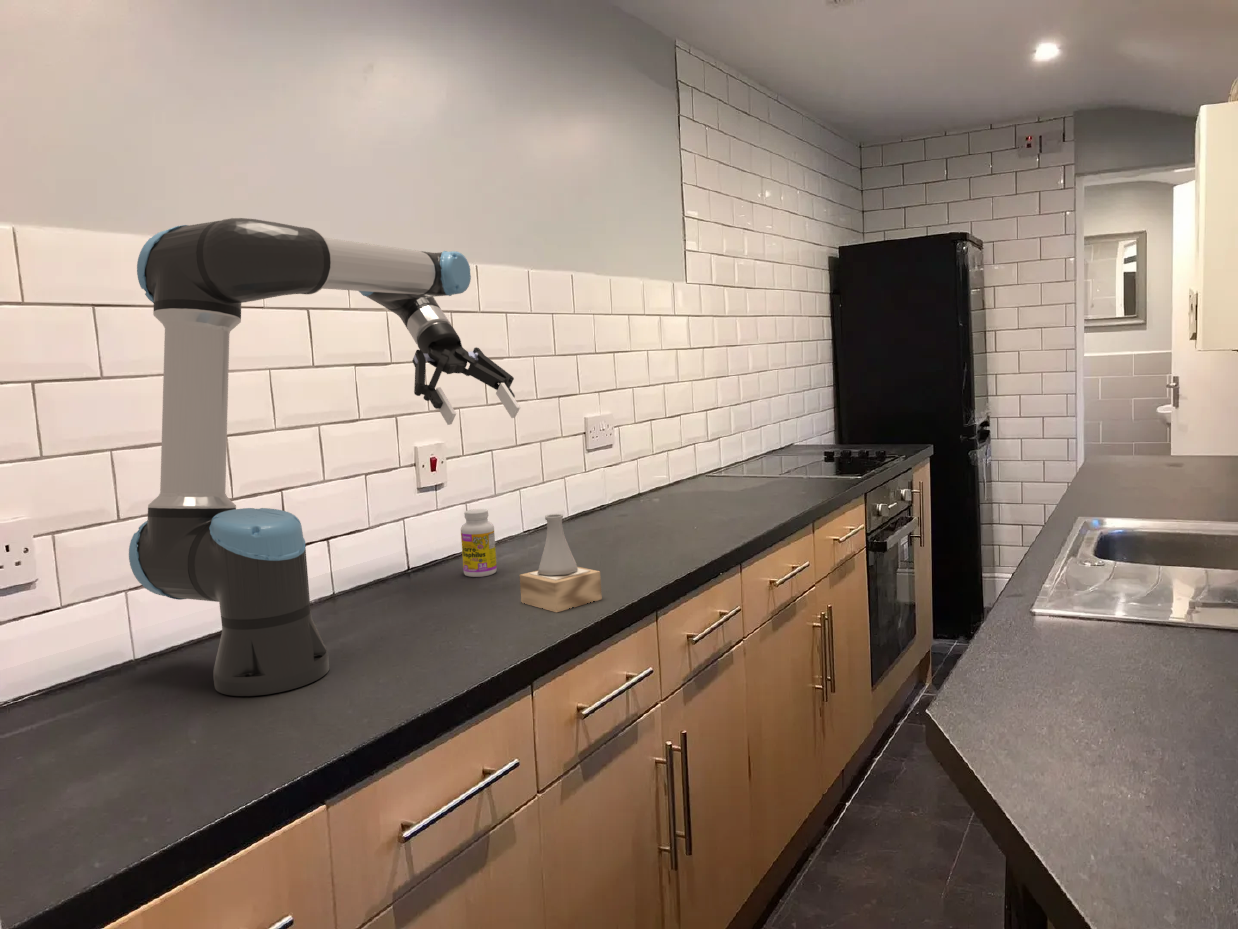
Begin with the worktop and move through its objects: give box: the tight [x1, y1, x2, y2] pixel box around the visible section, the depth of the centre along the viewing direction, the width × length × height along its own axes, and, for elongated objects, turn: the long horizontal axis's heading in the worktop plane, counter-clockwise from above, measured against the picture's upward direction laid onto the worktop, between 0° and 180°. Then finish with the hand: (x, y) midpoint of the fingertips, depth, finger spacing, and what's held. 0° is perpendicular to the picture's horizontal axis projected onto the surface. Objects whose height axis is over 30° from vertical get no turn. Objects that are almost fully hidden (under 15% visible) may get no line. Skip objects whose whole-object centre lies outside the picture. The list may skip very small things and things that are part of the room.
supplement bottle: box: [460, 508, 498, 578], centre depth 183 cm, size 7×7×13 cm
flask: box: [537, 513, 579, 575], centre depth 158 cm, size 7×7×10 cm
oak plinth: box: [519, 566, 603, 613], centre depth 159 cm, size 10×10×5 cm
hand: (485, 416), depth 163 cm, fingers open, 13 cm apart
